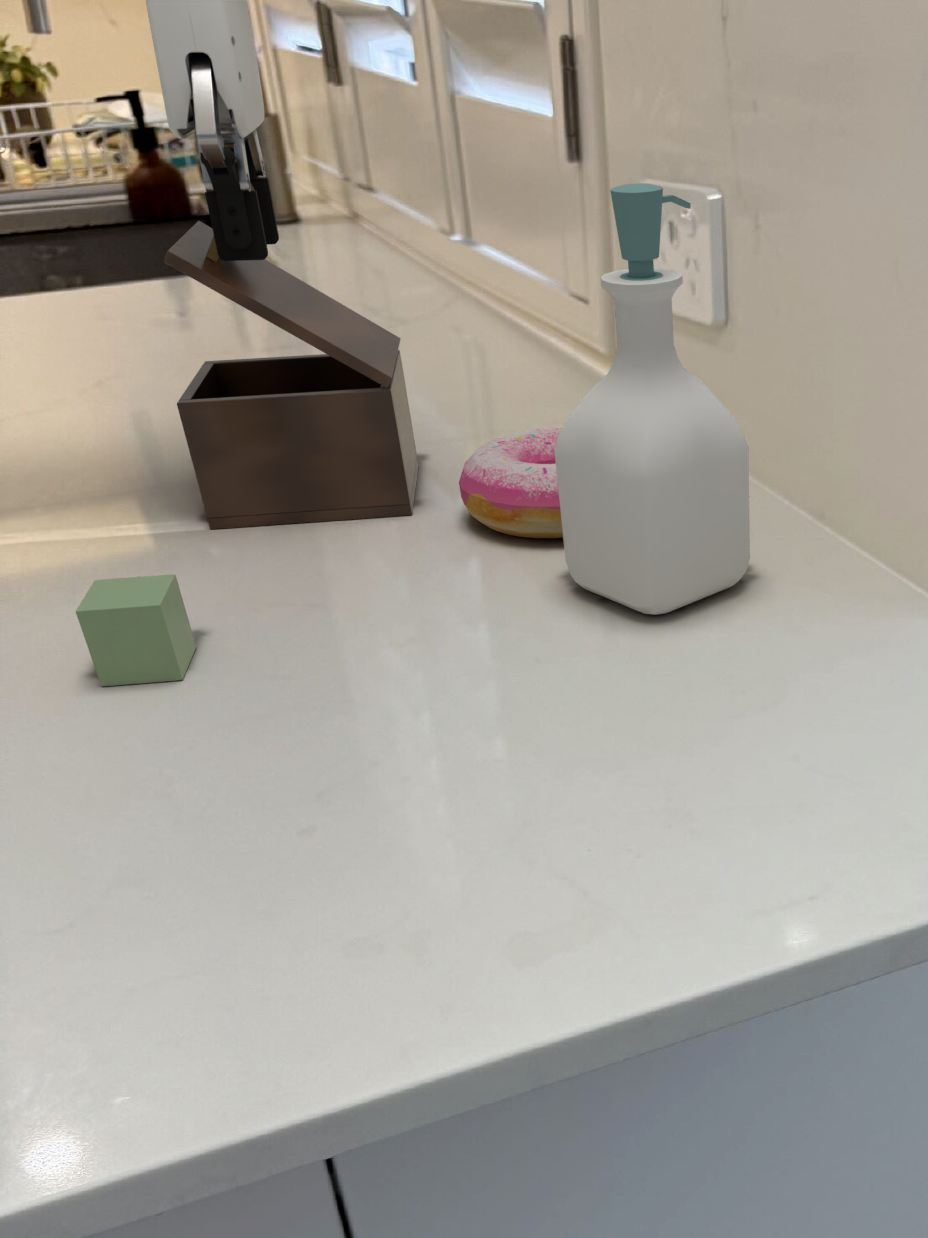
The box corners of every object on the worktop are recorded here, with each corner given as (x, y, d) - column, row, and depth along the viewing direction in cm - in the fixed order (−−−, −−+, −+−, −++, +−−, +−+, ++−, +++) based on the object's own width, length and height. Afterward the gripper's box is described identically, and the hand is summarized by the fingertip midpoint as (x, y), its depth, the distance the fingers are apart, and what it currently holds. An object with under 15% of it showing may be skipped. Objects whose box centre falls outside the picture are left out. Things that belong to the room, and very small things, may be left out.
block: (101, 687, 76) (75, 611, 73) (118, 653, 80) (94, 579, 77) (182, 680, 77) (160, 604, 74) (196, 647, 80) (175, 573, 77)
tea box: (209, 529, 96) (176, 403, 91) (234, 478, 105) (204, 361, 100) (412, 515, 98) (390, 390, 92) (418, 466, 107) (399, 349, 101)
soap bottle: (763, 585, 86) (761, 181, 72) (653, 631, 80) (627, 205, 66) (664, 548, 91) (643, 167, 77) (555, 589, 86) (512, 188, 72)
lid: (163, 262, 86) (192, 177, 83) (194, 231, 95) (222, 153, 92) (387, 388, 92) (421, 313, 89) (396, 348, 101) (427, 278, 99)
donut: (518, 478, 104) (510, 412, 101) (675, 494, 100) (672, 425, 97) (432, 538, 94) (420, 466, 91) (603, 557, 90) (597, 484, 87)
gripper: (148, -83, 86) (214, 232, 97) (86, -88, 73) (171, 278, 84) (266, -83, 87) (318, 229, 98) (226, -88, 73) (292, 274, 85)
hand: (249, 248), depth 91 cm, fingers closed on lid, 5 cm apart
